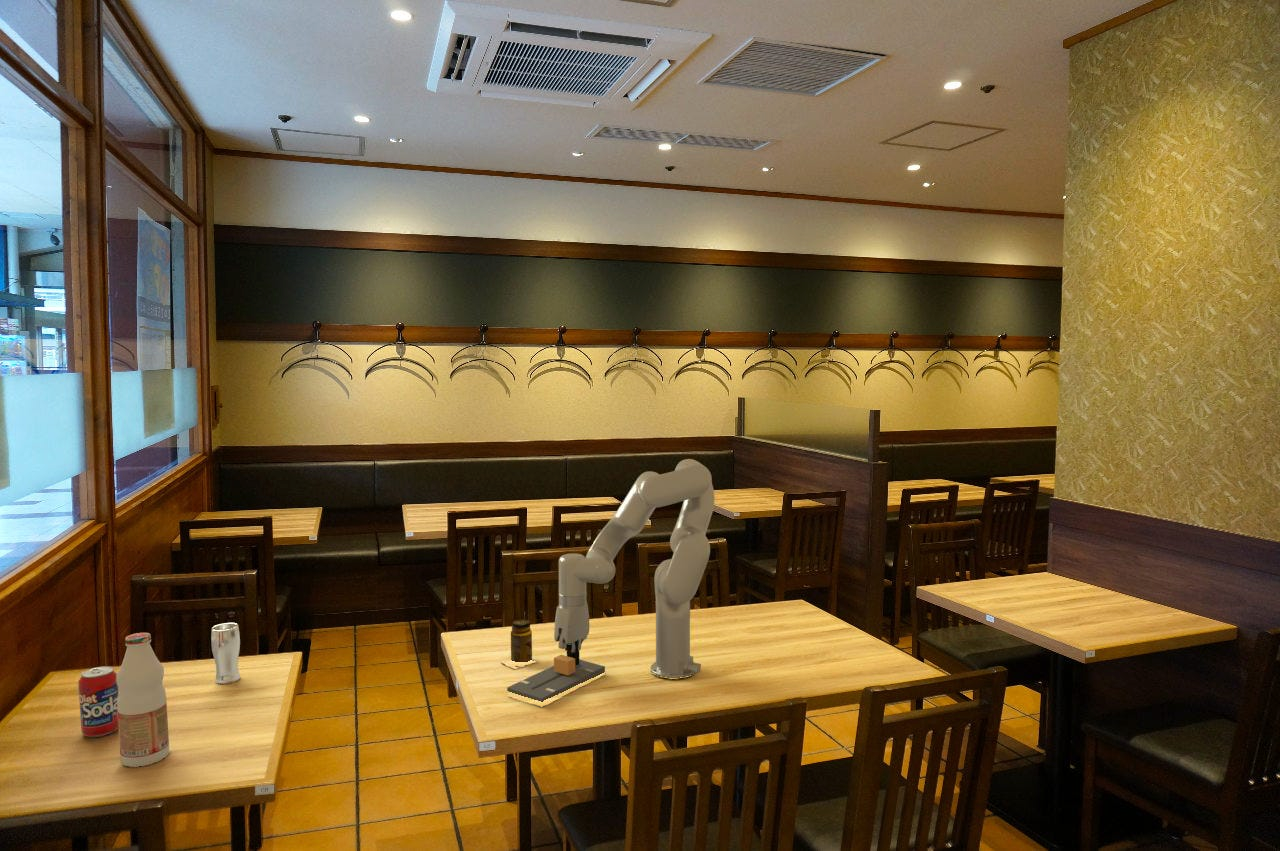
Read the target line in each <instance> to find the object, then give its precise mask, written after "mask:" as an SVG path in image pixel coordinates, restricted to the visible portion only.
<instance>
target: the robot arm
mask: <svg viewBox="0 0 1280 851" xmlns="http://www.w3.org/2000/svg"><path fill="white" fill-rule="evenodd" d="M712 478H713V477H712V474H711V472H710V469H708V467H706V466H705V465H703V464H702V463H701V462H699V461H697V460H695V459H693V458H687V459H683V460H681V461H679V462H678V463H677V464H676V467H675V469H674V470H673V471H670V472H666V473H661V474H659V473H658V472H656V471H652V470H650V471H644V472H643V473H641V474H640V475H639V476H638V477H637V479H636V480H635V482H634V483H633V485H632V486H631V488H630V489H629V491H628V493H627V494H626V496H625V498H624V499H623V501H622V502H621V504H620V506H619V507H618V509H617V511H616V512H615V513H614V514H613V516H612V517H611V518H610V519H609V521H608V522H607V523H606V524H605V525H604V527H603V528H602V529H601V530H600V532H599V534H598V535H597V537H596V538H595V540H594V541H593V544H591V546H590V548H589V550H587V553H586V555H585V556H584V555H583V554H581V553H576V552H575V553H566V554H562V555H560V557H559V559H558V606H556V611H555V618H554V629H553V630H554V631H553V632H554V633H553V635H554V636H553V637H554V641H555V642H558V649H561V650H564V651H565V652H566V656H568V657H572V658H575V666H577V665H579V659H580V651H581V649H582V644H583V642H584V641H585V640H587V638H588V635H589V634H590V615H589V613H590V612H589V607H588V602H587V595H588V594H587V583H591V584H592V583H593V584H606V583H608V582H610V581H612V580H613V579H614V577H615V575H616V566H615V563H614V562H613V561H614V559H615V558H616V556H617V555H618V553H619V551H620V550H621V549H622V547H623V545H624V544H626V542H627V541H628V540H630V539H631V538H633V537H634V536H636V535H638V534H640V532H641V531H643V529H644V527H645V526H646V524H647V522H648V521H649V519H650V518H651V515H652V514H653V513H654V511H655V509H656V508H662V507H666V506H670V505H673V504H678V503H680V502H683V503H682V505H681V508H680V512H679V516H678V517H677V521H676V524H675V526H674V528H673V530H672V534H671V536H670V540H669V545H670V549H671V551H672V552H673V553H672V557H671V558H669V559H666V560H663V561H662V562H660V564H658V566H657V568H656V569H655V573H654V579H653V580H654V594H655V662H653V663H652V664H651V665H650V669H651V671H650V673H651V672H652V673H654V674H656V675H658V676H662V677H667V678H680V677H686V676H690V675H692V674H693V673H694V674H698V675H699V674H700V673H701V667H702V664H701V663H698V662H695V661H694V656H693V655H691V600H692V599H693V598H694V596H695V595H696V594H697V591H698V589H699V586H700V583H701V581H702V578H703V576H704V572H705V570H706V569H707V564H708V562H709V560H710V559H709V558H710V554H711V545H710V541H709V539H708V538H707V536H706V534H707V530H708V527H709V524H710V521H711V517H712V515H713V512H714V507H715V490H714V486H713V483H712V482H713V480H712ZM650 669H649V670H650ZM652 673H651V674H652ZM694 674H693V675H694ZM693 675H692V676H693ZM690 677H691V676H690Z"/></svg>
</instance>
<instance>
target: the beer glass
mask: <svg viewBox="0 0 1280 851" xmlns="http://www.w3.org/2000/svg"><path fill="white" fill-rule="evenodd" d="M240 645H241V639H240V628H239V624H238V623H235V622H226V623H219V624H216V625H213V627H211V651H212V655H213V659H214V662H215V668H216V673H215V681H214V682H215V684H218V683H219V685H228V684H231V682H233V683H235V682H237V681H239V680H240V679H241V676H240V672H239V665H238V664H239V655H240V647H241V646H240ZM238 679H239V680H238ZM234 681H235V682H234ZM220 683H221V684H220ZM227 683H228V684H227Z"/></svg>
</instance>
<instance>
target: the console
mask: <svg viewBox="0 0 1280 851" xmlns="http://www.w3.org/2000/svg"><path fill="white" fill-rule="evenodd" d="M605 667H606V666H605V665H601V664H598V663H594V662H590V661H588V660H587V661H586V660H583V659H580V658H579V665H577V666H575V672H574V673H572V674H570V675H564V674H561V673H558V672H554V665H552V666H550V667H547V668H545V669H544V670H541V671H539V672H537V673H536V674H533V675H531V676H528V677H526V678H525V679H521V680H519V681H518V682H516V683H514V684H512V685H509V686H508V687H507V688H506V689H507V691H509V692H512V693H515V694H518V695H521V696H524V697H528V698H531V699H534V700H538V701H541V702H543V701H544V700H546V699H548V698H551V697H553V696H555V695H558V694H559V693H562V692H564V691H566V690H568V689H570V688H572V687H574V686H576V685H578V684H580V683H583V682H585V681H587V680H589V679H591V678H594V677H596V676H598V675H600V674H602V673H604V672H605V673H606V668H605Z"/></svg>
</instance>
